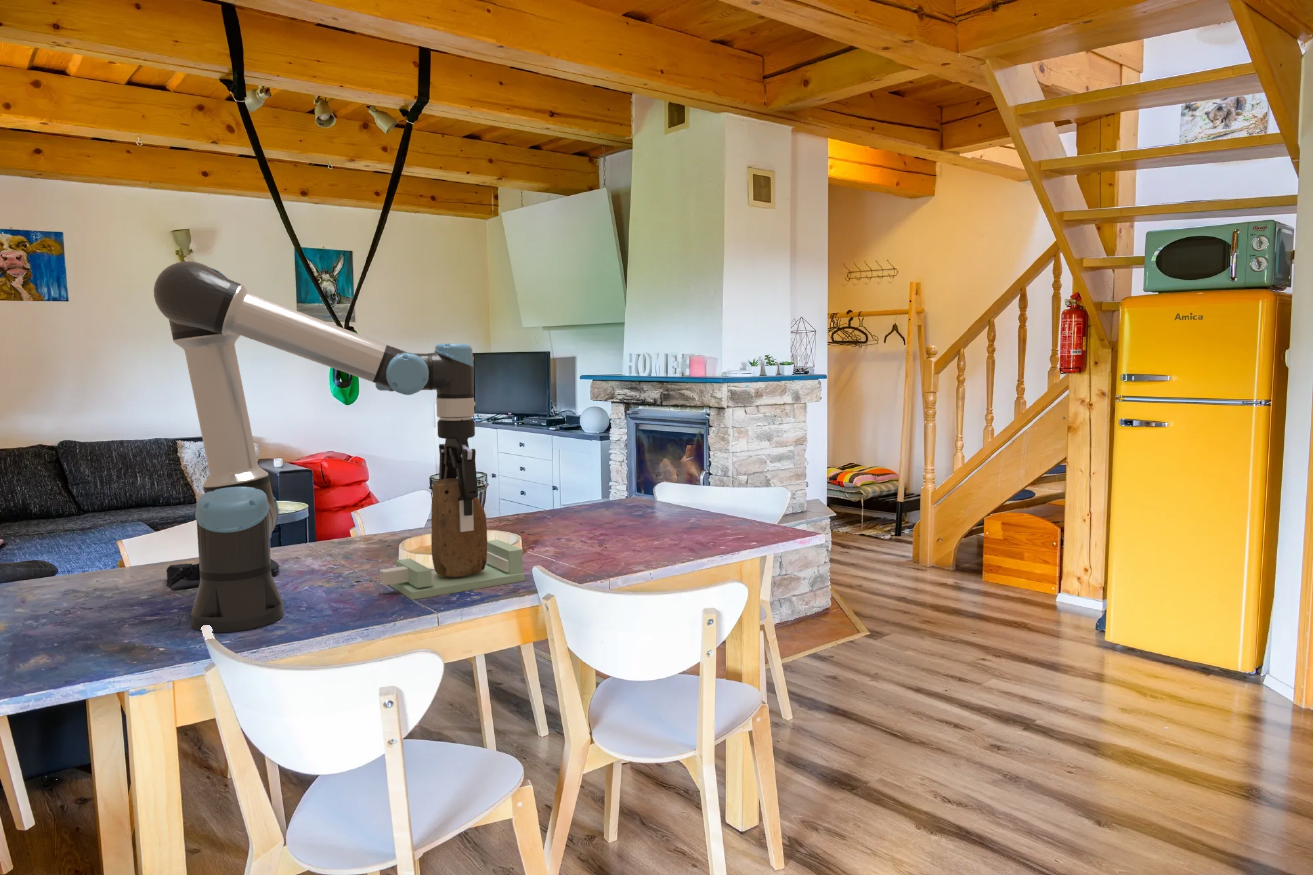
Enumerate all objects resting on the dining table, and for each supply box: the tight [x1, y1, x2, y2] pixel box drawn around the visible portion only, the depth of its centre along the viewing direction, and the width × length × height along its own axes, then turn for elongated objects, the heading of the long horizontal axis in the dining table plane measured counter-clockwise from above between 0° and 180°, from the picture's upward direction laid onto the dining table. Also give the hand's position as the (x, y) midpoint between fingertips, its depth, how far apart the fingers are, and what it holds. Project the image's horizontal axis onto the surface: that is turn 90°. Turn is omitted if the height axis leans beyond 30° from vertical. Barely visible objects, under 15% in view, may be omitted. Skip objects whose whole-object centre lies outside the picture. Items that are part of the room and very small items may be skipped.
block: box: [430, 478, 488, 577], centre depth 184 cm, size 11×8×20 cm
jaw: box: [379, 557, 433, 588], centre depth 178 cm, size 8×12×3 cm
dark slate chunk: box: [165, 558, 280, 591], centre depth 190 cm, size 15×22×5 cm
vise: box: [389, 539, 526, 601], centre depth 184 cm, size 24×14×6 cm, turn 125°
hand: (458, 527), depth 184 cm, fingers closed on block, 8 cm apart
